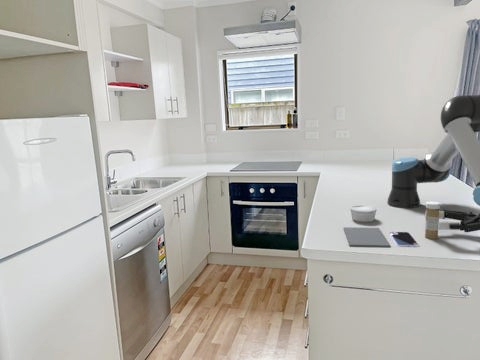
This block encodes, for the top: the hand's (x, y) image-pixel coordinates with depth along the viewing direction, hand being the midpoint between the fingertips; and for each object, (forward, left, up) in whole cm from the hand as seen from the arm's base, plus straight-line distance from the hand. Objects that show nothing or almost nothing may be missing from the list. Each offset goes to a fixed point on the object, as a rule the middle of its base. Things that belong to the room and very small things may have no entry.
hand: (431, 220), depth 132 cm
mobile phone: (+2, -10, -8) cm, 13 cm away
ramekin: (-23, -21, -7) cm, 32 cm away
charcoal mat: (+1, -24, -7) cm, 25 cm away
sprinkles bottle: (0, 0, -7) cm, 7 cm away
